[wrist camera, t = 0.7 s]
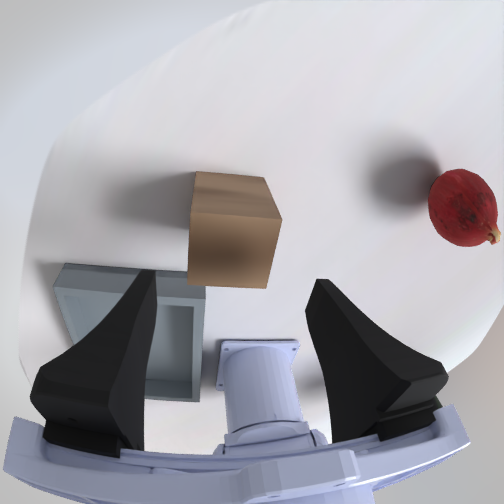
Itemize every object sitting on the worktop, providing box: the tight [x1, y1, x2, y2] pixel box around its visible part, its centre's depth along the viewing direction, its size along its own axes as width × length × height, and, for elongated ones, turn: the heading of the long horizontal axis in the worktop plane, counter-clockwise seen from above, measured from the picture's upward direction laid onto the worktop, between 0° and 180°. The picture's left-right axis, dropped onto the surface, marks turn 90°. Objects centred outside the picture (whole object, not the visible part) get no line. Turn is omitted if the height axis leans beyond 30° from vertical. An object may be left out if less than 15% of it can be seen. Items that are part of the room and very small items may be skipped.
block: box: [187, 171, 282, 289], centre depth 18 cm, size 4×4×6 cm
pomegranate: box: [428, 169, 501, 247], centre depth 18 cm, size 6×6×8 cm
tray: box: [53, 263, 206, 402], centre depth 26 cm, size 16×12×3 cm
